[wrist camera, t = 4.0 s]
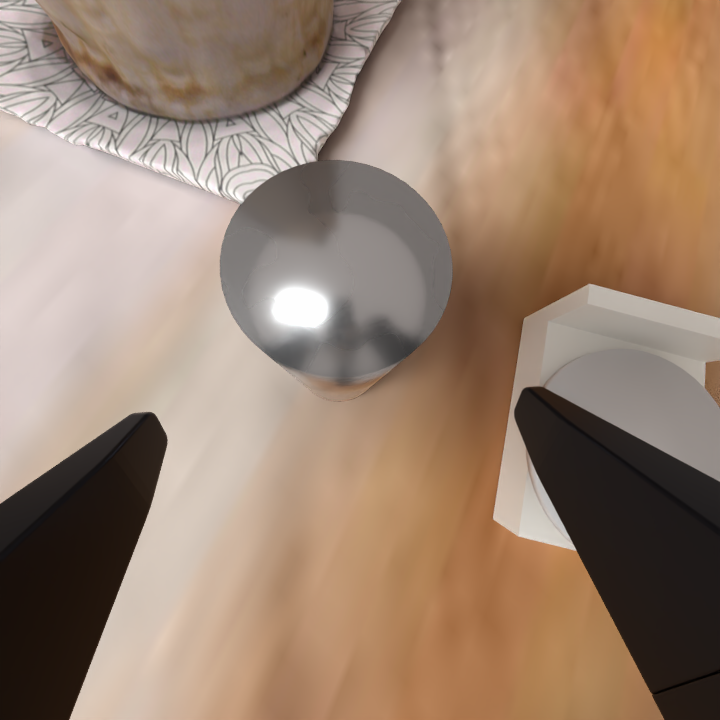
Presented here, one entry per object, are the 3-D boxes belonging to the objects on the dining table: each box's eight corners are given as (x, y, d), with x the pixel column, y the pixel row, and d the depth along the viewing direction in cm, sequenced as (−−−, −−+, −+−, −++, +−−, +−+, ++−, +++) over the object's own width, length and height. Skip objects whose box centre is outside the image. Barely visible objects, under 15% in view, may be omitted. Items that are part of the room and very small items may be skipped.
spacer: (368, 410, 18) (427, 403, 6) (287, 389, 18) (186, 341, 6) (387, 332, 19) (470, 192, 7) (310, 312, 19) (260, 135, 7)
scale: (658, 564, 17) (791, 625, 12) (479, 519, 17) (539, 564, 12) (671, 351, 20) (787, 329, 15) (514, 310, 20) (576, 272, 14)
